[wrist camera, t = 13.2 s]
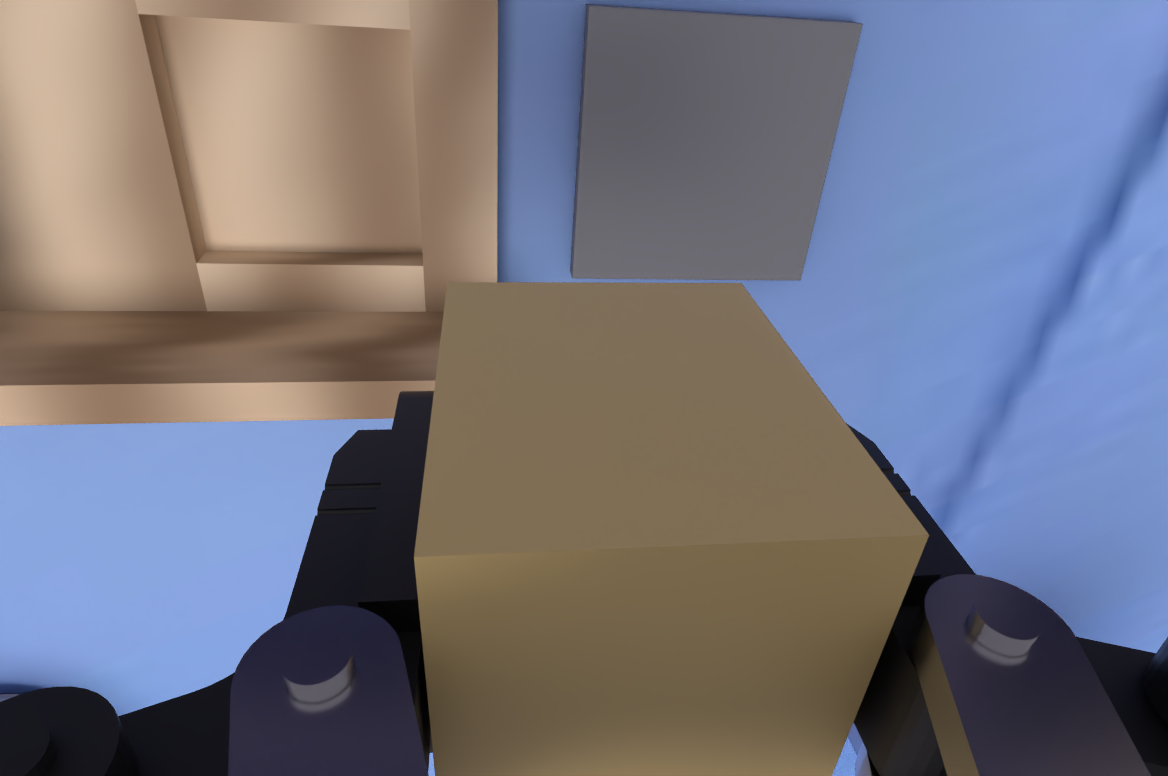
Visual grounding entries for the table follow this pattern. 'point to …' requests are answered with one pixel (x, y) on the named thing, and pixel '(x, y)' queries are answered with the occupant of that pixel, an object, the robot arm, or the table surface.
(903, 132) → the table surface
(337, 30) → the wooden rack
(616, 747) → the block
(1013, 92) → the table surface
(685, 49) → the mat
